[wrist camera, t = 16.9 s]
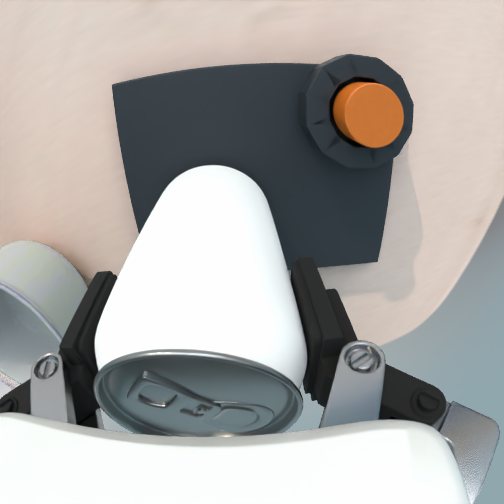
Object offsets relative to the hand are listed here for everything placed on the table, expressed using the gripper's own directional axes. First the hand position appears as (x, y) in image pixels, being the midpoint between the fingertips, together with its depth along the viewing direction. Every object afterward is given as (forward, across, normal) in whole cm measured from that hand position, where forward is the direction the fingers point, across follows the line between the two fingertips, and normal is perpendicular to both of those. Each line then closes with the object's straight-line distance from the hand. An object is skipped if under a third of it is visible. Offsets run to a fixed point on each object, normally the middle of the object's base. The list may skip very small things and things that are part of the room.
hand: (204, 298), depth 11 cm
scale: (+9, -3, -2) cm, 10 cm away
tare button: (+6, -8, -6) cm, 12 cm away
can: (+7, 0, 0) cm, 7 cm away
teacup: (+9, +14, +6) cm, 18 cm away
